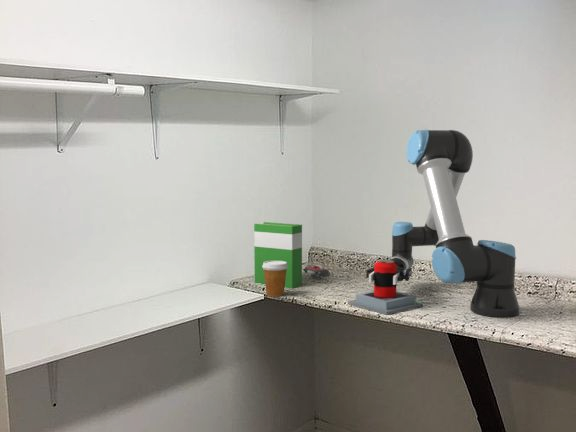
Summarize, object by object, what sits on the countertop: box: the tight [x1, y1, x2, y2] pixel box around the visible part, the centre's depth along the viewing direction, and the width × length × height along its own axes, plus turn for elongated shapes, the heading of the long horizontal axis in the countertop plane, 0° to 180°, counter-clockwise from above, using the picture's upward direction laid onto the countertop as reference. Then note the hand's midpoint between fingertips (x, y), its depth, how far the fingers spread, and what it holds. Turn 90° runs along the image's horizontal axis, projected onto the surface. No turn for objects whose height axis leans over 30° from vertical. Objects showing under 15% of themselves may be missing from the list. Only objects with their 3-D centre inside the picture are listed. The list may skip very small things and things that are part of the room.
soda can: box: [373, 259, 397, 298], centre depth 208 cm, size 8×8×12 cm
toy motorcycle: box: [302, 264, 330, 280], centre depth 259 cm, size 9×4×20 cm
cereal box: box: [253, 221, 303, 289], centre depth 241 cm, size 18×7×24 cm, turn 58°
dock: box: [347, 290, 424, 316], centre depth 208 cm, size 18×18×4 cm
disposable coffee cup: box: [262, 261, 288, 298], centre depth 224 cm, size 10×10×12 cm
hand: (382, 279), depth 203 cm, fingers closed on soda can, 7 cm apart
